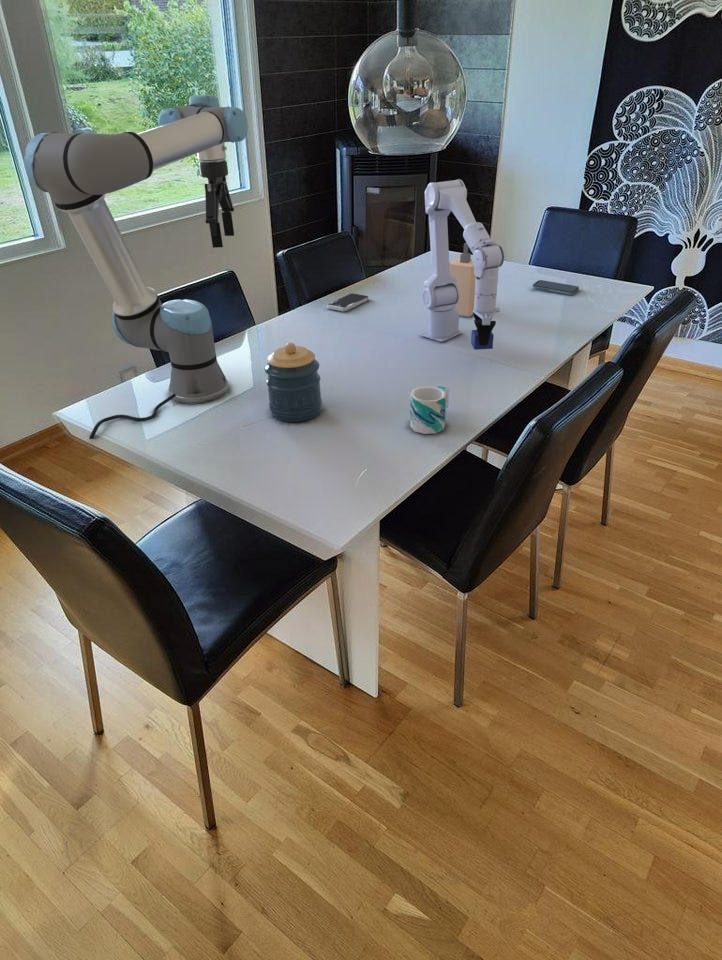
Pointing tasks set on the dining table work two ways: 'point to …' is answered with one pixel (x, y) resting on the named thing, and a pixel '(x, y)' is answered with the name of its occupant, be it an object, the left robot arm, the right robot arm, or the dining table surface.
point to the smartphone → (347, 302)
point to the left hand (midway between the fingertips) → (223, 241)
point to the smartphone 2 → (555, 287)
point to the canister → (293, 384)
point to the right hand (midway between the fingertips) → (482, 341)
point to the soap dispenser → (464, 281)
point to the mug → (428, 409)
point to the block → (476, 342)
